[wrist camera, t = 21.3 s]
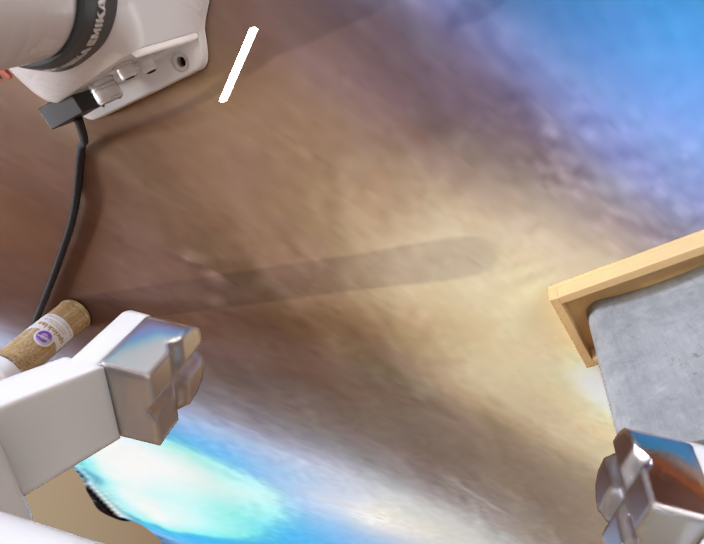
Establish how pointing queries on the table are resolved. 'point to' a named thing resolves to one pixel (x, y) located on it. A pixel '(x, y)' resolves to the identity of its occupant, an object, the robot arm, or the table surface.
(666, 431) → the hip flask
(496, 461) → the table surface
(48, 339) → the sprinkles bottle
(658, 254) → the flask stand
